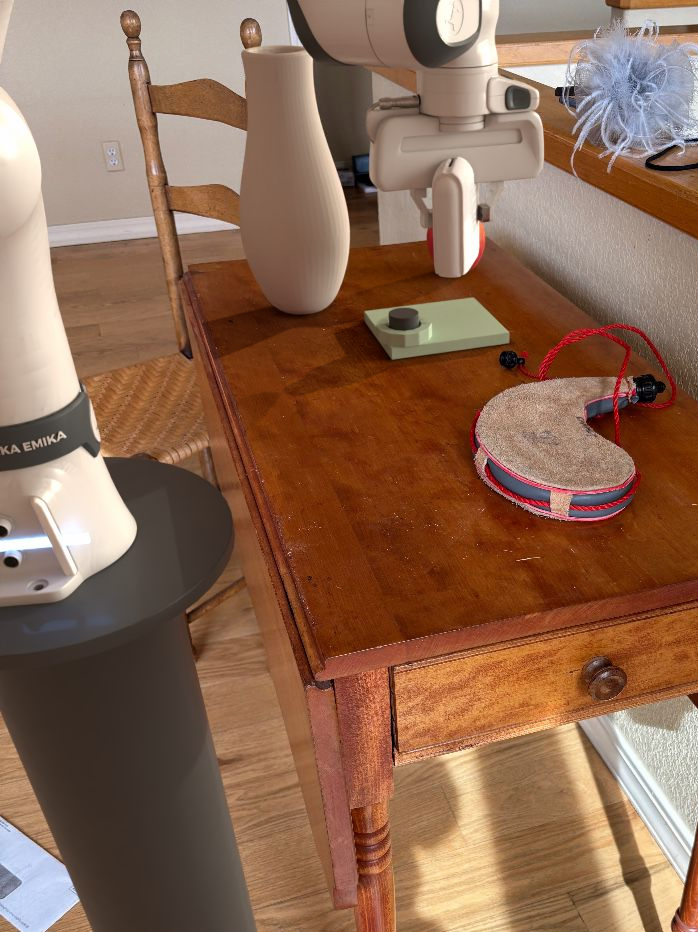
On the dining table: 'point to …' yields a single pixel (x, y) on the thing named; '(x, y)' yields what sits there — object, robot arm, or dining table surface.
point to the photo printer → (455, 218)
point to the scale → (438, 329)
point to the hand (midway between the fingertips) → (457, 223)
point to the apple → (481, 244)
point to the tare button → (403, 319)
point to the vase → (290, 185)
